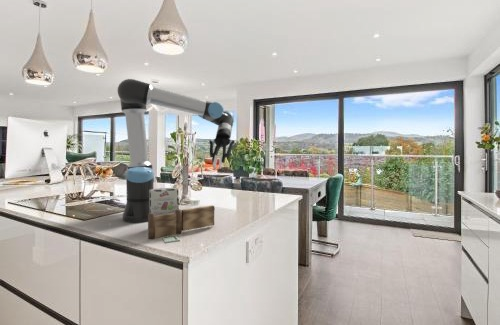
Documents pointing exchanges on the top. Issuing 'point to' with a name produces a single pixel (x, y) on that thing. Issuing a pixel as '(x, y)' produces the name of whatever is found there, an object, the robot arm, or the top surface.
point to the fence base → (164, 224)
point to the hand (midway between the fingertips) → (217, 166)
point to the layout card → (170, 239)
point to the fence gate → (197, 217)
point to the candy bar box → (163, 200)
